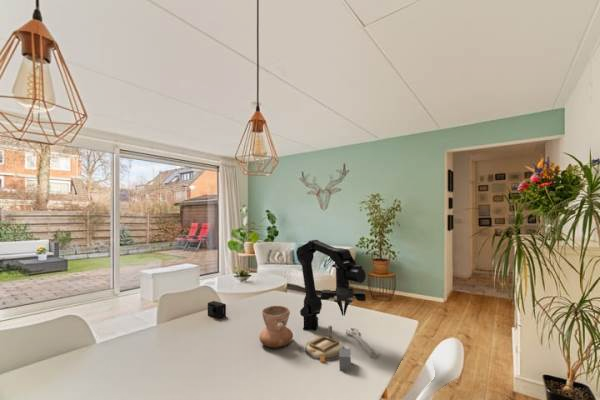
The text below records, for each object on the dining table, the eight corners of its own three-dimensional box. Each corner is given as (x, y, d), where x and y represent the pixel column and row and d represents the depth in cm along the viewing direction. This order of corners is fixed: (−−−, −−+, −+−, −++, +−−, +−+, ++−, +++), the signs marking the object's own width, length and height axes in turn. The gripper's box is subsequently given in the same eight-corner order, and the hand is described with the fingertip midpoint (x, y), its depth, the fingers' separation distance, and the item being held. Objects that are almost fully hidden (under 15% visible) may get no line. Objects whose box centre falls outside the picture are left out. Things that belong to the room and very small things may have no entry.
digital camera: (205, 316, 152) (205, 303, 152) (213, 312, 156) (213, 300, 157) (217, 319, 146) (217, 306, 146) (225, 316, 151) (225, 303, 151)
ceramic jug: (297, 349, 113) (297, 314, 114) (262, 355, 109) (262, 318, 110) (287, 332, 130) (286, 301, 131) (256, 336, 126) (256, 305, 127)
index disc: (298, 349, 112) (298, 333, 112) (322, 337, 123) (321, 322, 123) (327, 363, 101) (326, 345, 102) (350, 348, 112) (349, 332, 112)
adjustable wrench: (378, 359, 106) (378, 354, 106) (362, 360, 105) (362, 355, 105) (356, 330, 130) (356, 327, 130) (343, 331, 130) (343, 328, 130)
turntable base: (301, 360, 104) (301, 355, 104) (307, 339, 121) (307, 335, 121) (343, 363, 102) (343, 358, 102) (344, 342, 119) (344, 337, 119)
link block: (339, 370, 98) (339, 356, 98) (339, 361, 104) (339, 348, 104) (350, 371, 97) (350, 357, 97) (350, 362, 103) (350, 348, 103)
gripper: (319, 282, 112) (320, 321, 111) (366, 284, 109) (367, 324, 108) (321, 276, 123) (322, 311, 122) (364, 277, 120) (365, 313, 119)
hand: (343, 315), depth 118 cm, fingers closed
